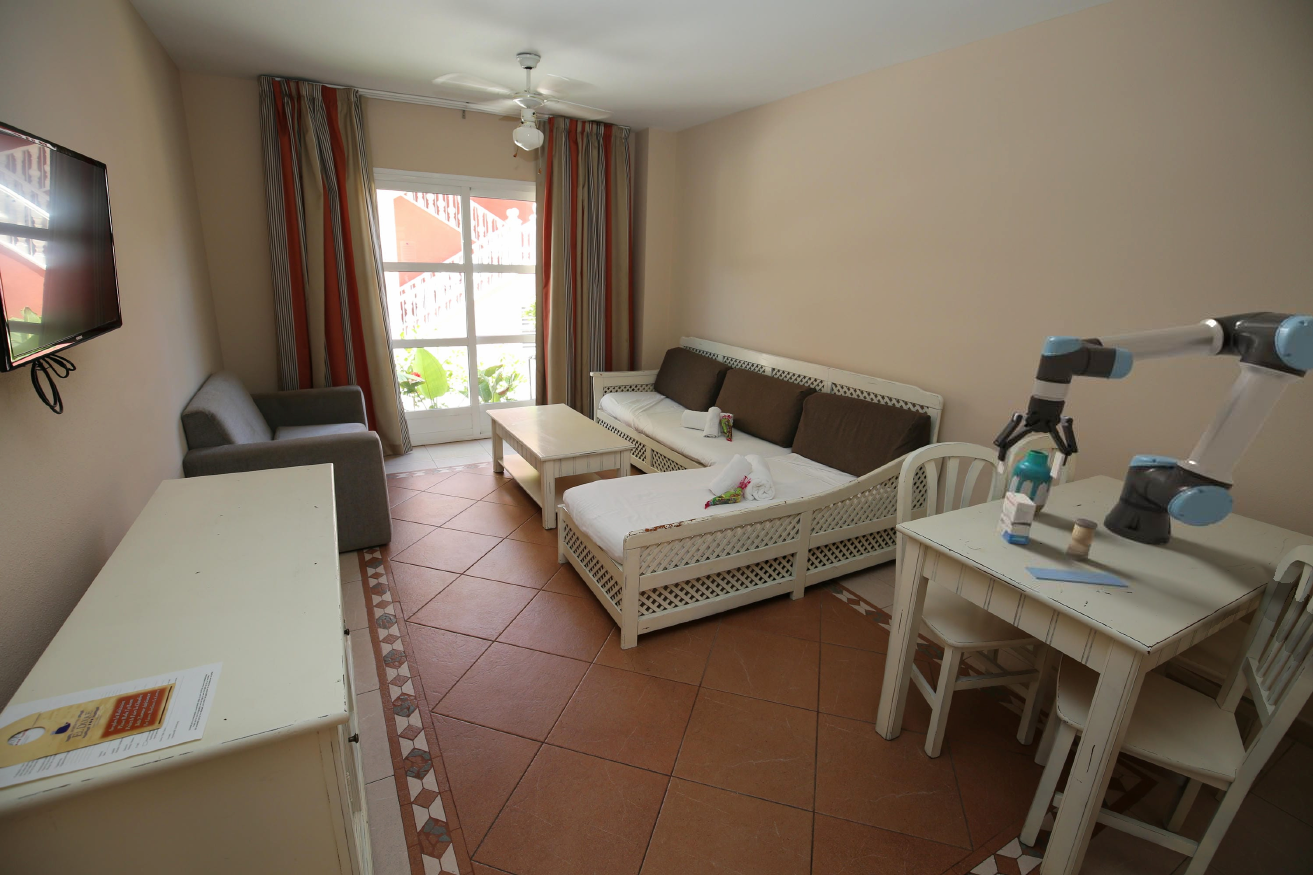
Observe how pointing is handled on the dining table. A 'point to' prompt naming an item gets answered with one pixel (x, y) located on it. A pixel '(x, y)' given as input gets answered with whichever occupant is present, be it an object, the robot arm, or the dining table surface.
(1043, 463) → the vase
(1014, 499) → the ink box
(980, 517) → the dining table surface
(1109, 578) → the tape line
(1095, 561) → the dining table surface
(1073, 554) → the tan cylindrical piece
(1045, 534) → the dining table surface
